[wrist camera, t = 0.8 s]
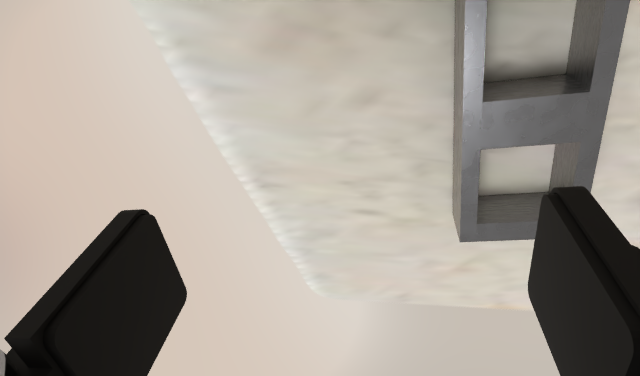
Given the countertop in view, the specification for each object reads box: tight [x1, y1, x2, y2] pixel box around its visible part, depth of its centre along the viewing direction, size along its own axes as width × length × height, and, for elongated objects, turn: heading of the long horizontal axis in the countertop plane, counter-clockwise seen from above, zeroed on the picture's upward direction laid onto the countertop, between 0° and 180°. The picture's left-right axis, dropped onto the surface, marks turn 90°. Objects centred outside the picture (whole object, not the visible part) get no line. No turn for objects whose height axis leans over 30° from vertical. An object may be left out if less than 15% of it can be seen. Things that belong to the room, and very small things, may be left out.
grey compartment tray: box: [453, 0, 630, 242], centre depth 29 cm, size 20×9×4 cm, turn 9°
